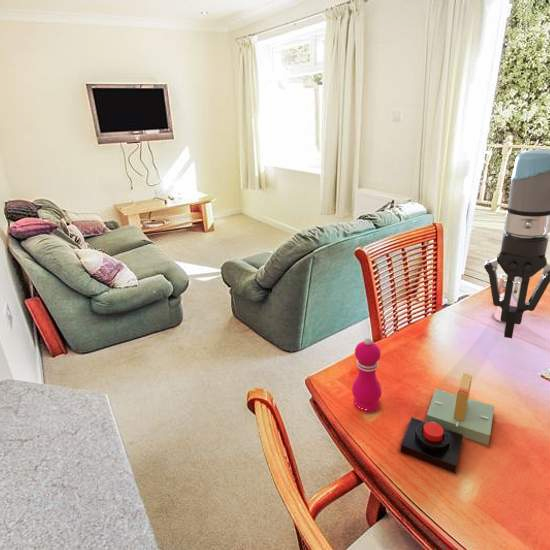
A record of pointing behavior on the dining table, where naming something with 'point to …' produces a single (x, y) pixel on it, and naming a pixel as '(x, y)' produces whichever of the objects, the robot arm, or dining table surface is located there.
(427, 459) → the button block
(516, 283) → the beer glass
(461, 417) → the handle
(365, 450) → the dining table surface
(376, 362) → the pepper mill
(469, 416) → the plate
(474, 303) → the dining table surface
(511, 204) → the robot arm
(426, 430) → the button
